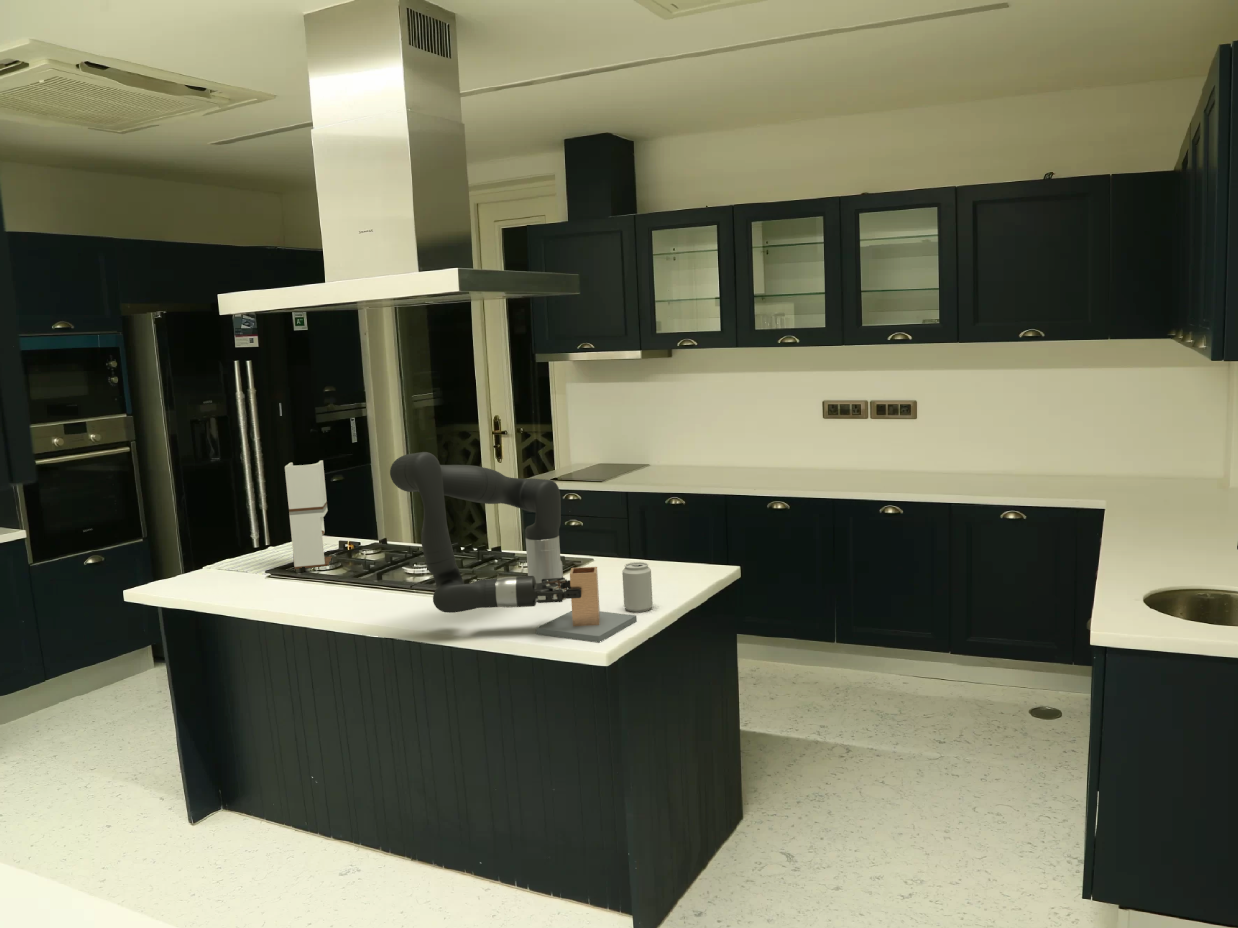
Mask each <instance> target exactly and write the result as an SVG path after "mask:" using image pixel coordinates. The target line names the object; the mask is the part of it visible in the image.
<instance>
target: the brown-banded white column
mask: <svg viewBox="0 0 1238 928" xmlns="http://www.w3.org/2000/svg"><path fill="white" fill-rule="evenodd" d="M324 469H325V468H324V460H319V461H318V462H316V463H312V464H303V465H302V464H299V465H294V463H293V462H289V463H288V464H286V465H285V466H284V472H285V473H284V474H285V483H286V484H285V485H286V493H287V494H286V495H287V502H288V512H289V513H288V514H289V515H288V516H289V525H290V534H291V536H290V537H291V543H292V555H293V566H294V570H295V569H299V568H302V567H305V568H313V567H320V566H327V565H329V562H330V561H331V558H332V559H333V557H332V556H325V552H324V539H323V536H324V535H325V533H326V532H325V521H324V520H325V519H324V517H325V516H326V514H327V513H328V511H329V510H328V501H327V489H326V480H325V479H326V478H325V470H324Z"/></svg>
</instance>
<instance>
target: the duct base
mask: <svg viewBox="0 0 1238 928" xmlns="http://www.w3.org/2000/svg"><path fill="white" fill-rule="evenodd" d="M636 622H637V615H635V614H629V613H628V614H627V613H619V612H618V613H617V612H611V611H610V612H608V611H601V610H600V622H599V625H589V626H573V619H572V610H570V611H568V612H566V613H564V614H562V615H560V616H558V617H556V618H554V619H552V620H550V621H548V622H546V623H544V624H541V625H540V626H537V627H536V628H535V631H536V632H535V634H536V635H540V636H546V637H547V636H549V637H554V636H555V637H557V638H562V637H564V639H569V638H572V639H571V640H577V639H582V640H581V641H585V640H589V641H588V642H592V641H597V642H596V643H601V642H602V640H603V641H605V640H606V639H609V638H610V637H611V635H612V636H613V635H615V634H616V633H618V631H619V632H620V631H622V630H624V629H626V628H627V627H630V626H631V625H633V624H634V623H636ZM609 636H610V637H609ZM555 637H554V638H555ZM604 639H605V640H604ZM600 641H601V642H600Z"/></svg>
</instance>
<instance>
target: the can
mask: <svg viewBox="0 0 1238 928" xmlns="http://www.w3.org/2000/svg"><path fill="white" fill-rule="evenodd" d="M621 574H622V589H623V591H622V593H623V607H624V608H625V609H626V610H627V611H628V612H632V613H641V612H642V613H643V612H647V611H649V610H650V609H651V608H652V607H653V603H654V602H653V589H652V587H653V586H652V584H653V583H652V570H651V568H650V567H649V563H647V562H643V561H633V562H629V563H625V564H624V568H623V569H622V573H621Z"/></svg>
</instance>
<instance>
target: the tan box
mask: <svg viewBox="0 0 1238 928" xmlns="http://www.w3.org/2000/svg"><path fill="white" fill-rule="evenodd" d="M598 574H599V573H598V566H587V567H585V566H583V567H571V568H570V572H569V580H570V586H571V589H578V588H580V589H581V598H570V599H571V600H570V601H571V611H572V619H573V626H589V625H599V622H600V611H601V609H600V592H599V591H600V590H599V576H598Z"/></svg>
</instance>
